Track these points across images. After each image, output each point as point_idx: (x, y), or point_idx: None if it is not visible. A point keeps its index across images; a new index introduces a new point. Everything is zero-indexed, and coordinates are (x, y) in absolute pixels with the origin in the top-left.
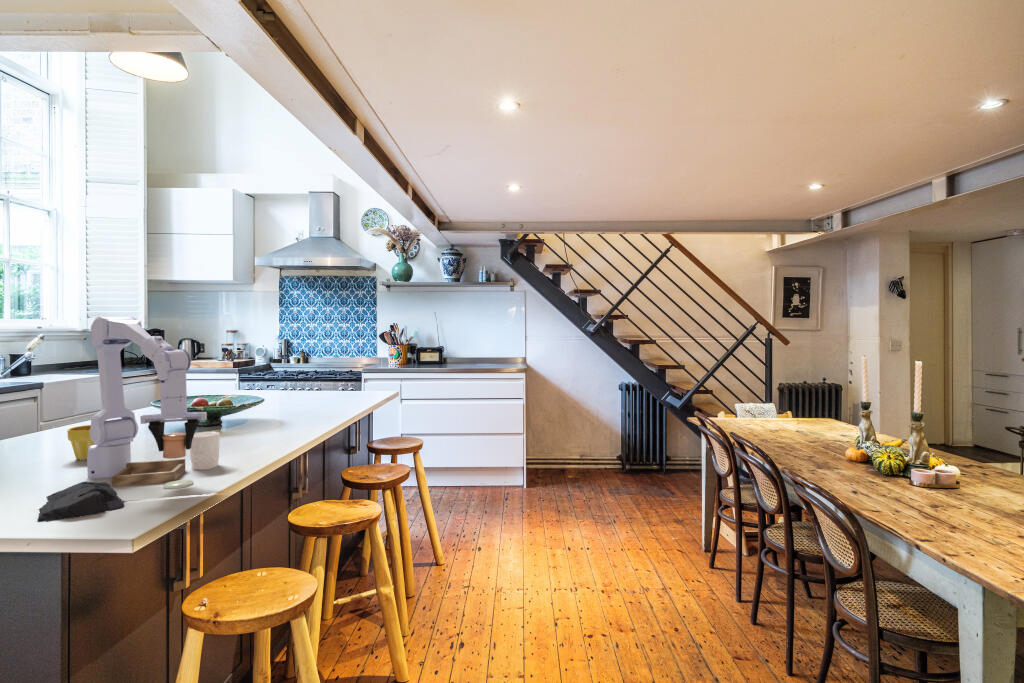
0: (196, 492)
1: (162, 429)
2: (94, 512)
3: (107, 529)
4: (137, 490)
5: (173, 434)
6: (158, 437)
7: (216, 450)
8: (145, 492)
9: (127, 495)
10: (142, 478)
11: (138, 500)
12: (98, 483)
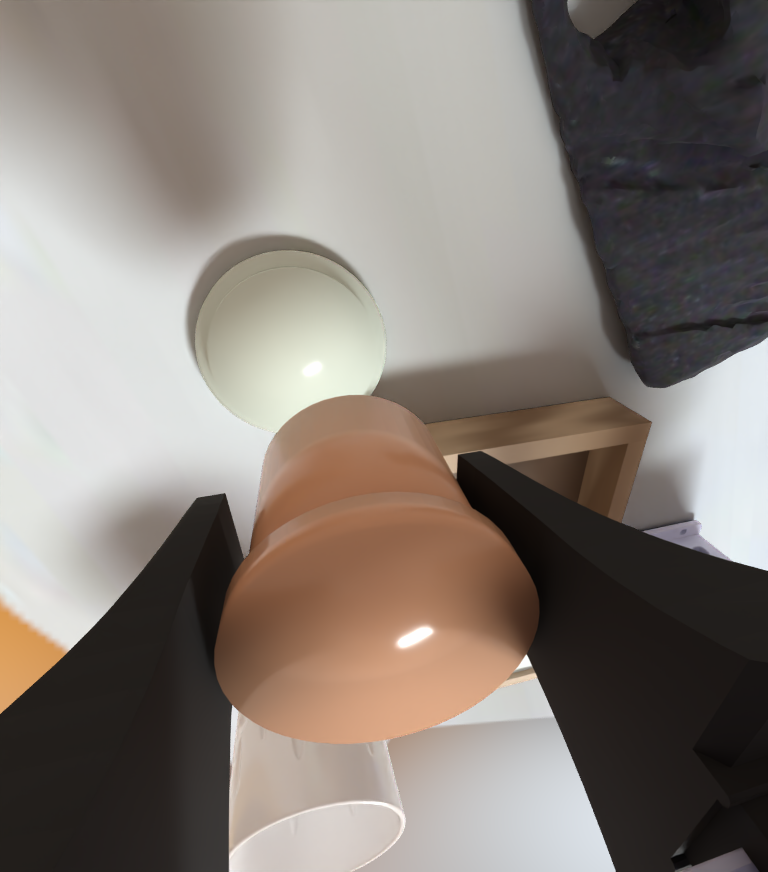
0: (93, 176)
1: (588, 713)
2: None
3: None
4: (497, 336)
5: (417, 670)
6: (571, 530)
7: (236, 737)
8: (448, 281)
9: (526, 239)
10: (509, 431)
11: (439, 71)
12: (695, 336)
